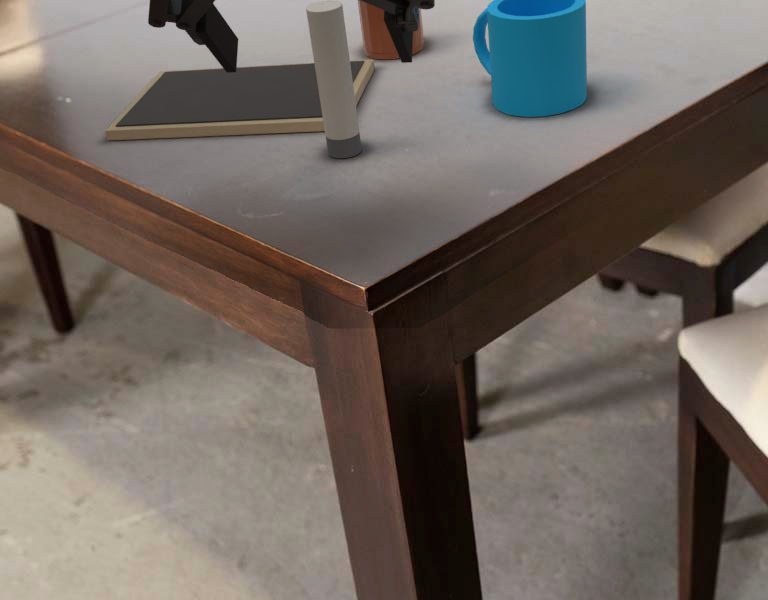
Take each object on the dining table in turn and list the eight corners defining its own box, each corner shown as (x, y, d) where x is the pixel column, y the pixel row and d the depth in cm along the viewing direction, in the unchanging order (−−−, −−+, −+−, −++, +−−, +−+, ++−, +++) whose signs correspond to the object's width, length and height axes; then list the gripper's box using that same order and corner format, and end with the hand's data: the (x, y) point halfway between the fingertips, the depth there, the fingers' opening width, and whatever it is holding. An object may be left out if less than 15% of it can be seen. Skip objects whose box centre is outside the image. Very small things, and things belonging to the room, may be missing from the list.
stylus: (325, 159, 91) (302, 12, 84) (332, 145, 93) (310, 1, 86) (358, 158, 90) (337, 10, 83) (364, 144, 92) (345, -2, 86)
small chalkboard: (107, 140, 100) (104, 128, 99) (162, 80, 112) (159, 69, 111) (344, 130, 95) (342, 117, 95) (375, 69, 107) (373, 57, 107)
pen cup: (359, 61, 110) (348, -22, 105) (370, 41, 114) (360, -39, 110) (419, 57, 108) (411, -26, 104) (427, 37, 113) (420, -43, 109)
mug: (607, 94, 95) (607, -2, 90) (539, 124, 91) (535, 25, 87) (511, 67, 103) (506, -23, 99) (444, 93, 100) (436, 2, 95)
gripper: (13, -44, 64) (159, 105, 85) (435, -79, 59) (482, 89, 80) (25, -160, 66) (166, 14, 86) (440, -205, 61) (485, -8, 81)
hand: (318, 50), depth 83 cm, fingers open, 13 cm apart
